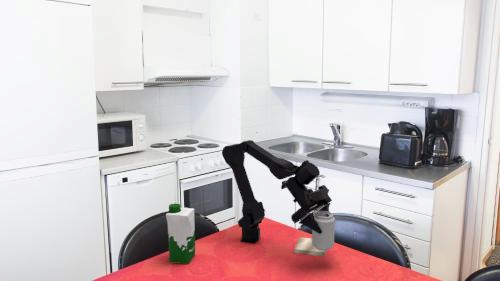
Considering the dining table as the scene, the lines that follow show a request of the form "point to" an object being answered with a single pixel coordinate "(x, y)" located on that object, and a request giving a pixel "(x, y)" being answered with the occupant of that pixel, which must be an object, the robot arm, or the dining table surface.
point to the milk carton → (181, 234)
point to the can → (324, 231)
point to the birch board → (307, 247)
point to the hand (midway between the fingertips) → (326, 229)
